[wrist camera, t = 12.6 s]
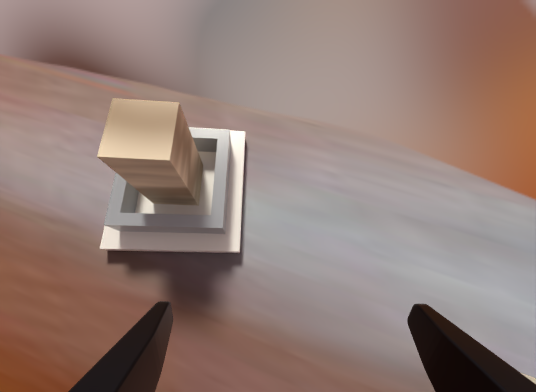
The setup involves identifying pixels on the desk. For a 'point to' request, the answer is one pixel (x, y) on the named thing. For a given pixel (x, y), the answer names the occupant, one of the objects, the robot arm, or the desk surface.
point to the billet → (153, 150)
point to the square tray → (185, 216)
